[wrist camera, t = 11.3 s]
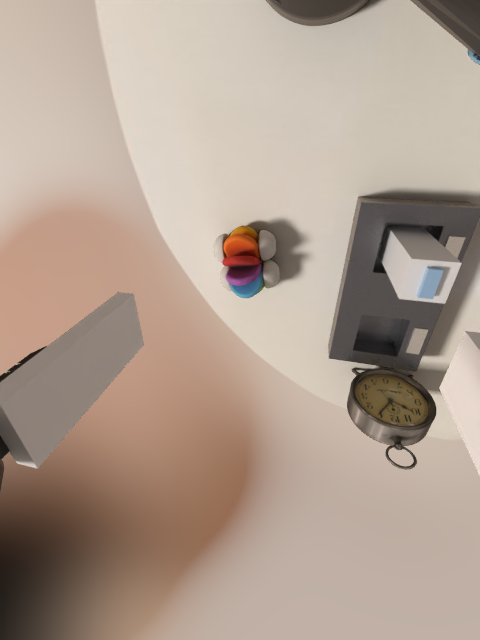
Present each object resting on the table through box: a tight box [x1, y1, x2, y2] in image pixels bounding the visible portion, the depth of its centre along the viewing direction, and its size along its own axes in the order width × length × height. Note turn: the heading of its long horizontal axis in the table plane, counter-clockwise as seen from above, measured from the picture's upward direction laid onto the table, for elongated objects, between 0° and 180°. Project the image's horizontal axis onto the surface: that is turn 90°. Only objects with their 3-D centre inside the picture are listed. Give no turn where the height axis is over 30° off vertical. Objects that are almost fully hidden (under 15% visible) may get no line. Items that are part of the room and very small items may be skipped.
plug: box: [379, 226, 462, 304], centre depth 32 cm, size 4×4×13 cm
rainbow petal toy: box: [213, 226, 280, 298], centre depth 41 cm, size 8×10×7 cm
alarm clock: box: [347, 368, 436, 469], centre depth 42 cm, size 11×5×16 cm, turn 91°
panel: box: [328, 197, 480, 371], centre depth 39 cm, size 22×12×4 cm, turn 0°
